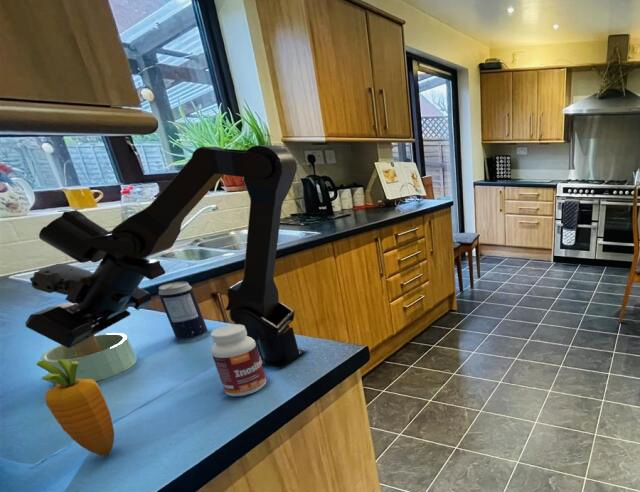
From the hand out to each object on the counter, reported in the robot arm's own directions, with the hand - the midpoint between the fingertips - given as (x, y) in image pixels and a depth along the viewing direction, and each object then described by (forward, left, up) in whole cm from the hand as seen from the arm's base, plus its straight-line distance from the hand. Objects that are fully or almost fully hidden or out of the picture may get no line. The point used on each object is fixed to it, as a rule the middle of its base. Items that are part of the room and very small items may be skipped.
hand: (74, 341), depth 72 cm
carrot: (-28, +15, -7) cm, 33 cm away
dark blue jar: (-4, -17, -7) cm, 18 cm away
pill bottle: (-33, -3, -7) cm, 34 cm away
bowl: (-1, -1, -7) cm, 7 cm away
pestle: (-1, -1, -6) cm, 6 cm away
